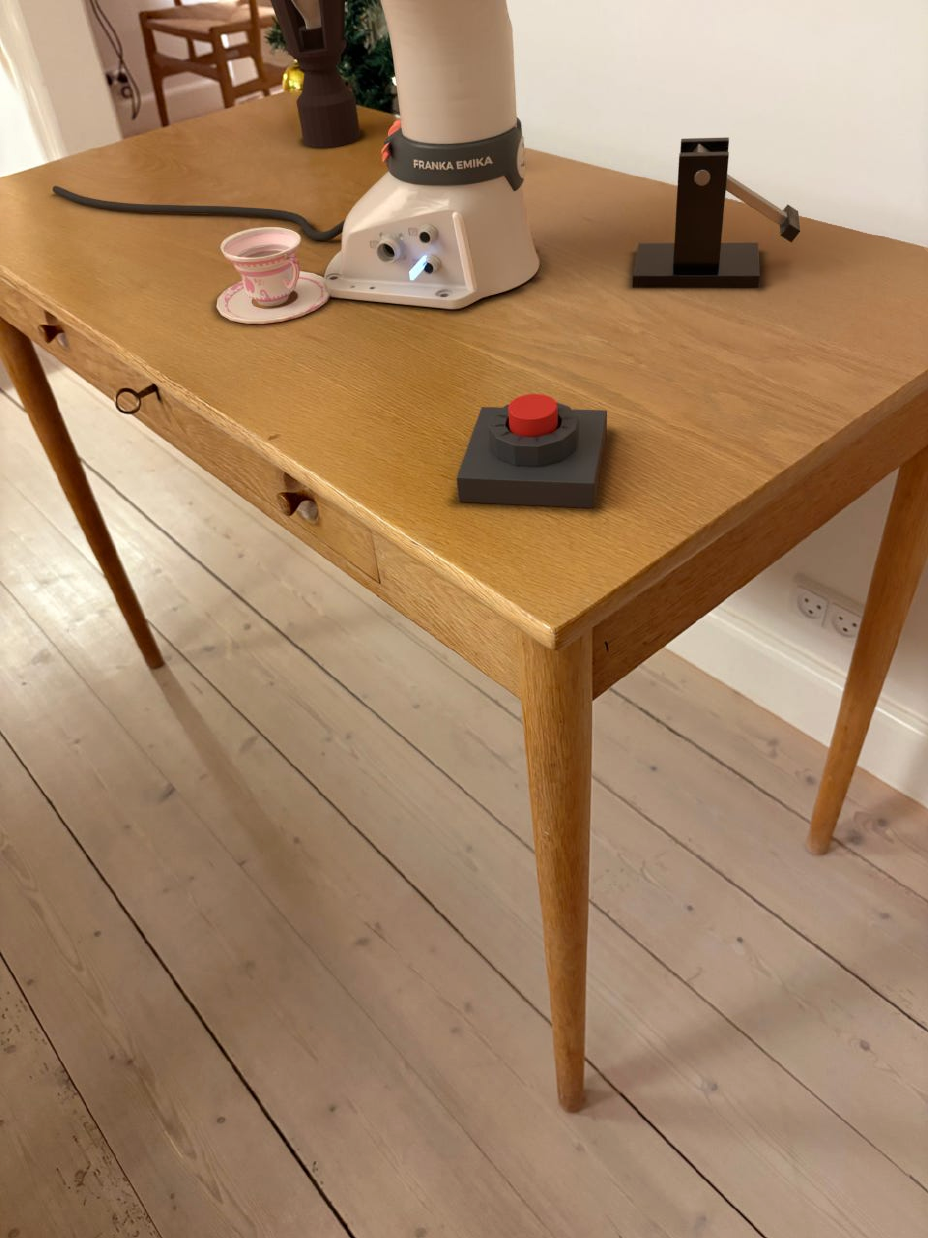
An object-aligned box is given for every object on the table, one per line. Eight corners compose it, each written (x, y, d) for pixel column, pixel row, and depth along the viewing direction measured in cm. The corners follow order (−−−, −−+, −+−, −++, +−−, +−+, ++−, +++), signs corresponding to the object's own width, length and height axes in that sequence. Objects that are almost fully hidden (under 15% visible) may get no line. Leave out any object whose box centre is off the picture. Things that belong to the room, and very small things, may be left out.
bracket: (757, 253, 103) (770, 130, 95) (758, 287, 97) (772, 159, 89) (637, 254, 105) (641, 134, 97) (632, 287, 99) (635, 162, 92)
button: (505, 438, 74) (504, 417, 73) (513, 413, 77) (512, 392, 76) (554, 440, 73) (553, 419, 72) (560, 414, 76) (560, 393, 75)
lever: (785, 227, 99) (802, 206, 97) (787, 247, 95) (804, 226, 94) (683, 160, 97) (699, 138, 95) (681, 179, 93) (697, 155, 92)
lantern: (387, 147, 139) (352, -122, 119) (280, 161, 138) (227, -106, 118) (379, 116, 150) (346, -134, 130) (280, 129, 149) (231, -120, 129)
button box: (459, 502, 75) (454, 456, 72) (483, 430, 82) (479, 386, 79) (594, 508, 73) (594, 461, 70) (607, 434, 80) (607, 389, 77)
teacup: (193, 310, 105) (177, 251, 100) (277, 267, 111) (265, 211, 107) (273, 336, 98) (259, 275, 94) (356, 289, 105) (346, 230, 101)
